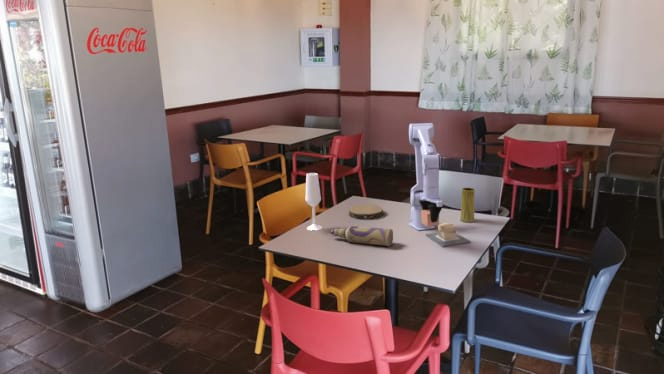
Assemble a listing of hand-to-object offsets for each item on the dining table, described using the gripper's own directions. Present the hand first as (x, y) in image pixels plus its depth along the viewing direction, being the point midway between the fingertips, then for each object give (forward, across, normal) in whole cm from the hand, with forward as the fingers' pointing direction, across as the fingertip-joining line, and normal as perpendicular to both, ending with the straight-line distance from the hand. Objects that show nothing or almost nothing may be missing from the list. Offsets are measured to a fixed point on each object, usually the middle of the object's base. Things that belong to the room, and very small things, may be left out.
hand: (430, 219), depth 196 cm
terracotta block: (+2, 0, 0) cm, 2 cm away
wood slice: (+10, -44, -10) cm, 47 cm away
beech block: (+8, -1, +8) cm, 11 cm away
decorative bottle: (+10, -11, -24) cm, 28 cm away
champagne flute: (+10, -35, -37) cm, 52 cm away
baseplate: (+9, -1, +8) cm, 12 cm away
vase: (+10, -18, +28) cm, 34 cm away
